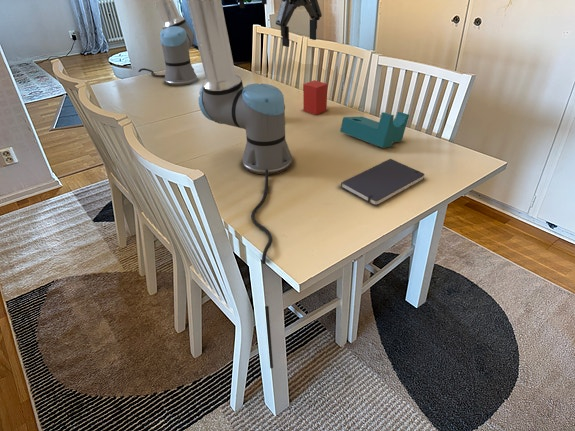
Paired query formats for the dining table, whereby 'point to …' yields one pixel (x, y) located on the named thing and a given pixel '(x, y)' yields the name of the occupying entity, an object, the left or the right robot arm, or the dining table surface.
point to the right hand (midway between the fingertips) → (299, 42)
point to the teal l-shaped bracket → (376, 128)
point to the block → (315, 97)
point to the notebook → (382, 181)
